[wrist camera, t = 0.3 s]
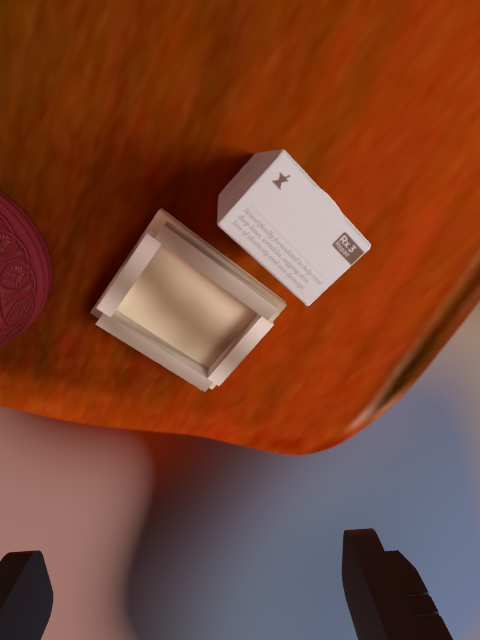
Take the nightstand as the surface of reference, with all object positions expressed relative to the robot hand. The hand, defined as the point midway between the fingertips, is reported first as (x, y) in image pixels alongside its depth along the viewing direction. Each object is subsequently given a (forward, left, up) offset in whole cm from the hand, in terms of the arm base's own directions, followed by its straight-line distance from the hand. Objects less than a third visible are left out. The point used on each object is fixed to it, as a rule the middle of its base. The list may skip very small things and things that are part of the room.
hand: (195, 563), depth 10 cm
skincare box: (-8, -1, -22) cm, 23 cm away
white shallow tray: (+2, -1, -22) cm, 22 cm away
